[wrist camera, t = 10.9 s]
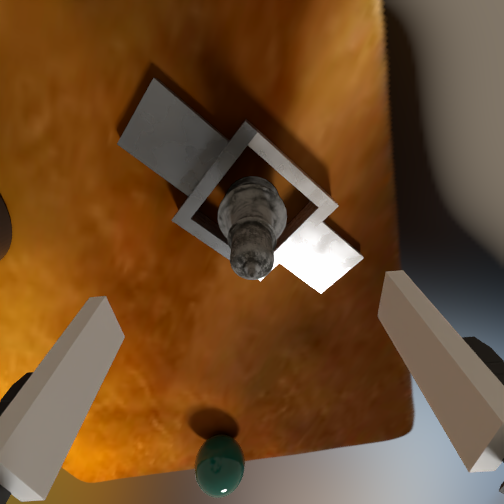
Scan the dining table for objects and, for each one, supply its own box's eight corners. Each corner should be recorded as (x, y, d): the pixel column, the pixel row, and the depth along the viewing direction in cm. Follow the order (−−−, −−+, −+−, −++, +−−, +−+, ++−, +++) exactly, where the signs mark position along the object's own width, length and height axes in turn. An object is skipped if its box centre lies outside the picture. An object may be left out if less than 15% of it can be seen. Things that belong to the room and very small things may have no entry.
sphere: (212, 419, 45) (204, 479, 38) (254, 433, 47) (254, 492, 40) (191, 441, 48) (181, 499, 41) (231, 453, 50) (227, 510, 43)
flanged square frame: (110, 162, 24) (96, 169, 22) (172, 51, 20) (163, 46, 18) (305, 299, 32) (309, 314, 30) (377, 238, 28) (388, 250, 26)
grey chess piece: (238, 161, 24) (228, 213, 14) (294, 191, 26) (323, 259, 15) (211, 215, 27) (186, 293, 16) (264, 240, 28) (270, 326, 18)
